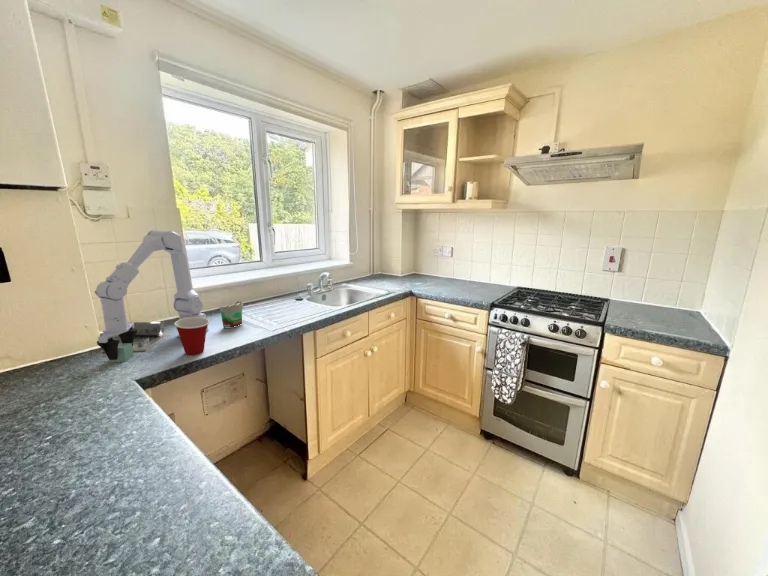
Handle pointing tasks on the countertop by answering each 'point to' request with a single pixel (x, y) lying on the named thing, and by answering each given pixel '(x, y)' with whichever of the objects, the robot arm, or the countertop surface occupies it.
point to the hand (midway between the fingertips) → (121, 354)
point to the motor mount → (147, 335)
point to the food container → (232, 314)
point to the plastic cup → (192, 334)
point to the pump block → (124, 352)
